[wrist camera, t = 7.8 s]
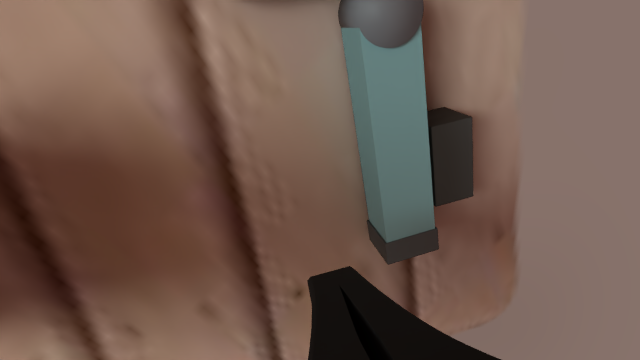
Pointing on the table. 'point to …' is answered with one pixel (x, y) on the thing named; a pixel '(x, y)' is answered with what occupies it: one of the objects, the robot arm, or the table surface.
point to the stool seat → (450, 155)
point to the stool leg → (391, 122)
